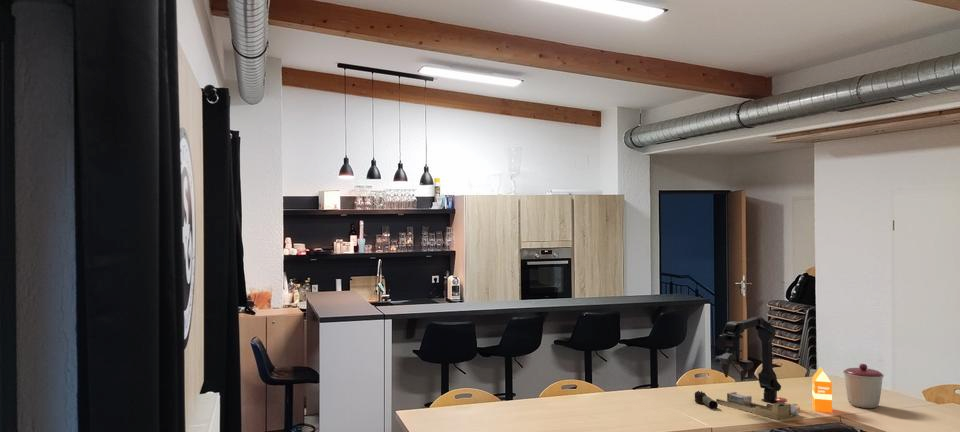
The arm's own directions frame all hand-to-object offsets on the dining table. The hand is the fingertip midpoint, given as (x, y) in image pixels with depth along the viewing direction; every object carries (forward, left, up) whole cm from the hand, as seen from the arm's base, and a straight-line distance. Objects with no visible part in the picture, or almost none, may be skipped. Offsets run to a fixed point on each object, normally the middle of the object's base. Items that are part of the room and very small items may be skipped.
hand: (734, 379), depth 336 cm
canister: (-60, +30, -15) cm, 69 cm away
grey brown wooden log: (+5, -14, -15) cm, 21 cm away
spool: (-6, -2, -15) cm, 16 cm away
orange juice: (-36, +23, -15) cm, 46 cm away
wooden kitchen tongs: (-9, +6, -15) cm, 18 cm away
